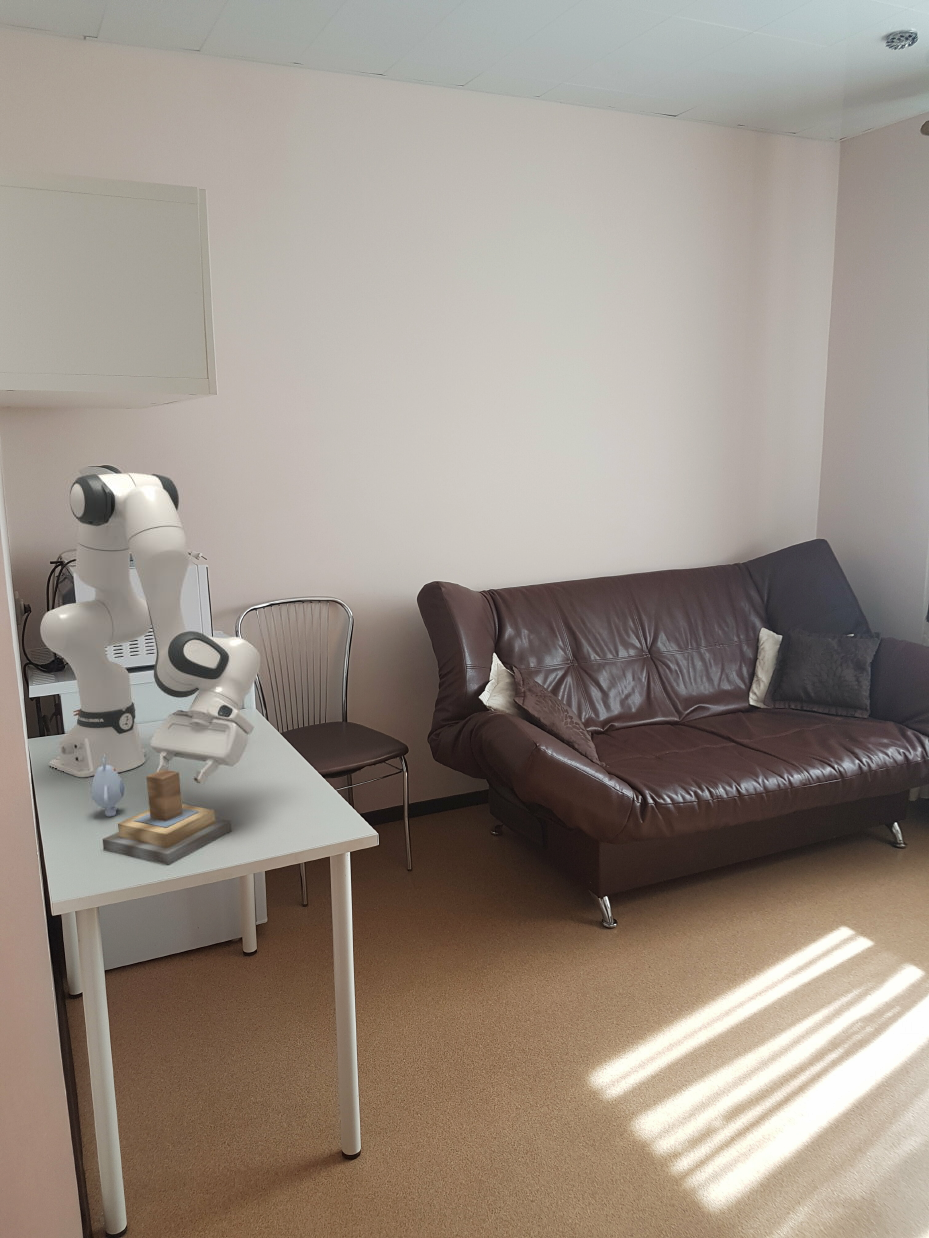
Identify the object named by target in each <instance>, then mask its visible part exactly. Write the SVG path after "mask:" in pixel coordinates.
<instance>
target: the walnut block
mask: <svg viewBox="0 0 929 1238" xmlns="http://www.w3.org/2000/svg"><path fill="white" fill-rule="evenodd" d="M145 777H146V786H147V787H146V788H147V796H148V797H147V799H148V806H149V807H148V808H149V809H150V818H153V819H158V820H163V821H168V820H170V819H172V818H174V817H176V816H178V815H181V814H183V812H182V804H183V803H182V802H183V801H182V791H181V782H180V781H181V780H180V772H178V771H174V770H171V771H169V770H160V771H158V772H154V773H151V774H148V775H146V776H145Z"/></svg>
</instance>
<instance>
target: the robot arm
mask: <svg viewBox="0 0 929 1238" xmlns="http://www.w3.org/2000/svg"><path fill="white" fill-rule="evenodd" d="M179 503H180V497H179V490H178V489H177V486H176V485H175V483H174V481H173V480H172V479H171V478H169V477H168V476H164V475H160V474H156V473H153V474H145V473H136V472H123V473H107V474H105V473H104V474H98V475H97V474H95V473H92V474H91V473H90V474H86V475H81V476H78V477H76V479H75V480H74V481H73V483H72V485H71V487H70V490H69V504H70V505H69V506H70V509H71V512H72V515H73V516H74V517H75V519H76V520H77V521H78V522H79V524H78V529H77V538H76V539H77V540H76V541H77V543H76V553H75V555H76V556H75V557H76V558H75V573H76V575H77V577H78V579H79V580H80V581H81V582H82V583H83V584H85V585H87V586H89V587H91V588H93V589H94V591H95V595H94V598H93V599H92V600H86V601H81V602H79V601H78V602H74V603H67V604H64V605H61V606H59V607H56V608H54V609H51V610H49V611H47V612H46V613H45V614H44V615H43V617H42V620H41V623H40V628H39V629H40V636H41V640H42V641H43V643H44V644H45V646H46V648H48V649H49V650H50V651H52V652H53V653H55V654H57V655H59V656H60V657H61V658H63V659H64V660H65V661H66V662H67V663H68V665H69V667H70V668H71V669H72V672H73V673H74V675H75V680H76V683H77V689H78V695H79V700H80V702H79V703H80V708H79V709H77V710H74V711H72V712H73V713H74V714H73V716H74V717H76V716H77V719H76V725H74V726H73V727H72V729H70V730H69V731H68V732H67V733H66V734H65V735H63V736H62V737H61V739H60V741H59V744H58V754H59V755H58V756H57V757H55V758H53V759H52V760H50V761H49V762H48V764H49V765H48V766H49V767H50V766H51V767H50V768H52V767H54V768H53V769H55V768H57V769H56V770H59V771H61V772H63V771H64V773H67V774H69V775H71V776H75V777H77V778H87V777H91V776H93V777H94V776H95V774H96V771H97V769H98V768H99V767H101V766H103V758H104V754H105V756H106V762H107V765H110V766H112V767H113V768H115V769H116V772H117V773H122V772H126V771H129V770H132V769H135V768H137V767H139V766H141V765H143V764H144V763H145V762H146V757H145V755H146V749H144V748H143V745H142V740H141V734H140V731H139V726H138V723H137V722H136V721H135V719H136V707H135V703H134V702H133V698H132V688H131V678H130V677H131V676H130V673H129V672H128V670H127V668H125V667H124V666H123V665H121V664H120V663H117V662H114V661H112V660H110V659H109V657H108V655H107V651H106V647H107V648H108V647H111V646H112V647H113V646H116V645H121V644H125V643H131V642H133V641H135V640H137V639H140V638H141V637H143V636H146V635H147V634H148V633H149V632H150V629H152V632H153V637H154V643H155V647H156V657H155V658H156V659H155V662H154V668H153V677H154V681H155V684H156V686H157V687H158V688H159V689H160V691H161V692H163V693H164V694H165V695H168V696H171V697H173V698H177V699H178V698H179V699H180V698H188V697H190V696H193V695H195V694H196V693H197V694H196V695H195V697H194V699H193V701H192V703H191V705H190V706H189V709H188V710H187V711H185V710H182V709H181V710H180V709H178V710H176V711H174V712H172V713H170V714H168V716H167V717H166V718H165V719H164V720H163V721H162V723H161V724H160V725H159V727H158V728H157V730H156V732H155V733H154V735H153V736H152V738H151V740H150V748H151V749H152V750H154V751H155V752H156V753H157V754H159V766H158V767H157V770H156V772H158V771H160V770H169V771H172V769H171V768H170V767H169V765H170V764H169V762H172V761H173V759H174V758H180V759H187V760H193V761H199V762H203V763H204V762H205V763H206V765H205V766H204V767H203V768H202V769H201V770H200V771H198V770H196V772H195V775H194V776H193V781H194V782H195V783H197V784H202V785H204V784H206V781H208V778H209V777H210V776H211V775H213V773H214V772H216V771H217V770H218V769H219V766H220V765H221V766H223V765H224V766H227V767H234V766H235V765H237V764H238V763H239V762H240V760H241V759H242V757H243V755H244V753H245V751H246V748H247V746H248V743H249V735H251V734H252V733H253V730H254V728H255V726H254V724H253V723H252V722H251V721H250V720H249V718H247V717H246V716H245V715H244V714H243V713H242V712H241V709H242V704H243V701H244V699H245V697H246V696H247V695H248V694H249V693H250V691H251V689H252V687H253V685H254V683H255V681H256V678H257V676H258V673H259V670H260V667H261V659H262V658H261V655H260V653H259V651H258V649H257V647H255V646H254V645H253V643H251V642H249V641H248V640H247V639H244V638H242V637H238V636H231V637H216V636H215V637H214V636H209V635H205V634H204V633H202V632H199V631H191V630H189V631H188V630H187V631H186V627H185V622H184V617H183V613H182V607H181V595H182V588H183V585H184V581H185V579H186V578H185V577H186V574H187V571H188V567H189V563H190V562H189V561H190V559H189V558H190V557H189V549H188V548H189V547H188V542H187V537H186V534H185V530H184V527H183V524H182V521H181V518H180V514H179V513H178V510H179V506H180V505H179ZM131 558H132V561H133V564H134V567H135V569H136V573H137V574H138V575H137V576H138V578H139V581H140V584H141V589H142V591H143V595H144V597H145V599H143V598H142V597H140V595H138V594H137V593H136V592H135V590H134V588H133V586H132V582H131V577H130V568H131V566H130V565H131V564H130V563H131ZM156 772H155V773H156Z"/></svg>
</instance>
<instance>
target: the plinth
mask: <svg viewBox="0 0 929 1238" xmlns="http://www.w3.org/2000/svg"><path fill="white" fill-rule="evenodd" d="M182 812H183V814H181V815H178V816H176V817H174V818H172V819H170V820H168V821H163V820H158V819H153V818H150V808H149V809H147V810H144V811H142V812H141V813H138V814H136V815H134V816H131V817H129V818H128V819H127V818H126V819H125V820H123V821H119V823H117V829H118V830H117V832H115V833H112V834H110V835H108V836H106V837H104V838H102V848H103V850H104V851H109V852H112V853H118V854H122V855H126V856H128V857H129V856H131V857H134V858H138V859H141V860H142V859H143V860H147V861H152V862H156V863H158V864H159V863H160V864H163V865H167V866H169V865H171V864H173V863H175V862H177V861H178V860H180V859H182V858H184V857H185V856H188V855H190V854H192V853H193V852H195V851H198V849H200V848H202V847H204V846H207V845H208V844H210V843H212V842H213V841H216V840H217V839H220V838H221V837H223V836H224V835H226V834H229V833H230V832H232V820H230V819H229V820H228V819H225V818H219V817H216V812H215V810H214V809H210V808H205V807H199V806H194V805H189V804H184V803H182Z"/></svg>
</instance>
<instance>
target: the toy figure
mask: <svg viewBox="0 0 929 1238" xmlns="http://www.w3.org/2000/svg"><path fill="white" fill-rule="evenodd" d="M124 795H125V783H124V782H123V780H122V778H121V777H120V775H119V772H116V769H115V768H113V767H112V766H110V765H107V762H106V756H105V754H104V758H103V766H101V767H99V768H98V769H97V771H96V774H95V775H93V778H92V782H91V789H90V796H91V798H92V801H93V802H94V803H95V804H96V805H97V806H99V807H101V808H103V809H105V811H104V814H105V816H107V817H114V816H115V815H116V814H117V810H118V808H117V805H118V804H119V803H120V802H121V801H122V799H123V797H124Z"/></svg>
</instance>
